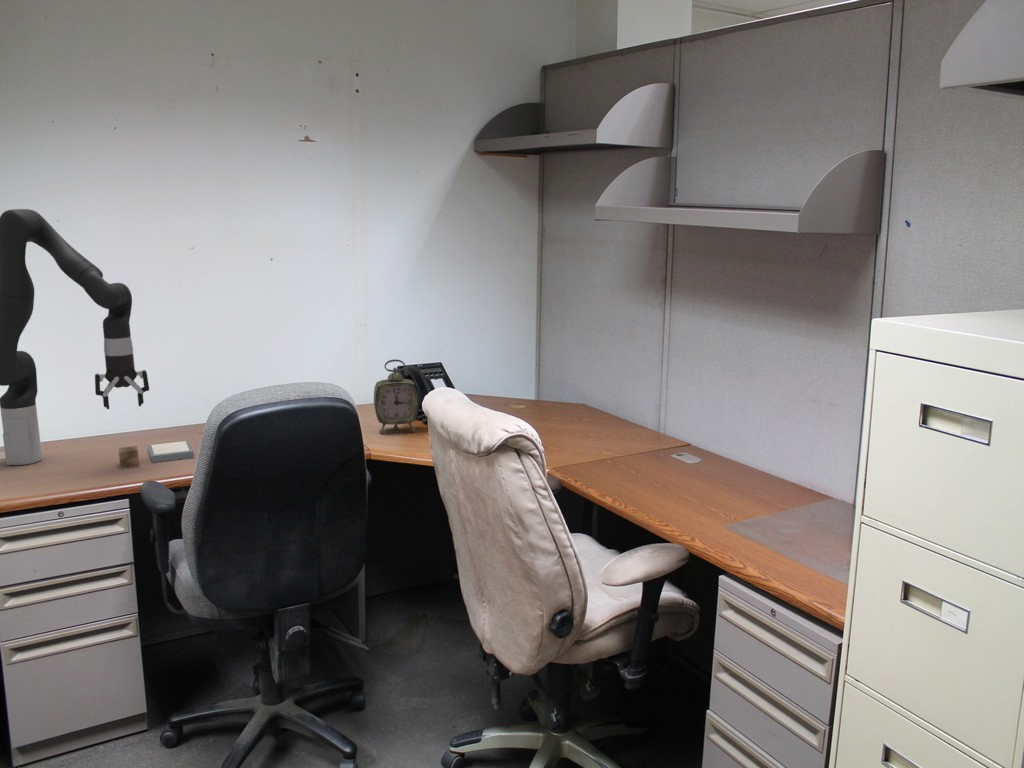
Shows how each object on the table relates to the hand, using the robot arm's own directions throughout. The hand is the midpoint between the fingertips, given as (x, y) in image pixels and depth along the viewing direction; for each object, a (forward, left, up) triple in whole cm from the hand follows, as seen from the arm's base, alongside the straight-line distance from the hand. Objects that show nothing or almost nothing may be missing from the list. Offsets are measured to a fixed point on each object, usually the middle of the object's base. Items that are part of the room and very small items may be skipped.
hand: (124, 407), depth 246 cm
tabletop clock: (+84, +2, -18) cm, 86 cm away
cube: (0, 0, -18) cm, 18 cm away
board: (+12, +6, -18) cm, 22 cm away
